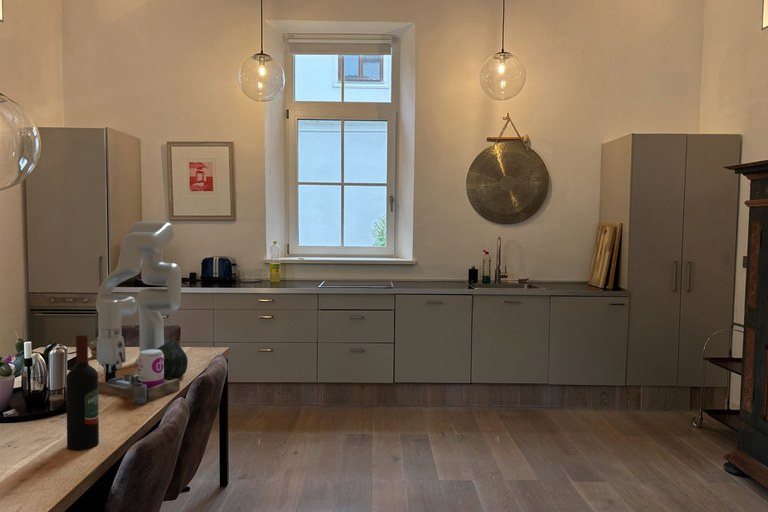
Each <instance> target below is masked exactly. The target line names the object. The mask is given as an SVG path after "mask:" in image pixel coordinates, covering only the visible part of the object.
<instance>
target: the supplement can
mask: <svg viewBox="0 0 768 512" xmlns="http://www.w3.org/2000/svg"><path fill="white" fill-rule="evenodd" d="M137 359H138V364H137V365H138V366H137V367H138V368H137V369H138V370H137V371H138V373H137V375H138V383H142V384H146V385H147V388H150V387H153V386H156V385H159V384H162V383H164V380H165V378H164V354H163V353H162V350H160V349H148V350H143V351H141V352H140V351H139V354H138V356H137Z"/></svg>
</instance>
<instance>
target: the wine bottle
mask: <svg viewBox="0 0 768 512" xmlns="http://www.w3.org/2000/svg"><path fill="white" fill-rule="evenodd" d="M88 336H89V335H88V334H76V335H75V350H76V351H75V356H76V357H75V358H76V362H75V366H73V368H71V370H70V371H68V373H67V374H66V377H65V378H66V379H65V382H66V383H65V387H66V389H65V391H66V392H65V393H66V397H65V398H66V399H65V400H66V449H67V450H69V451H71V452H82V451H88V450H90V449H93V448H95V447H97V446H98V445H99V444H100V433H99V432H100V426H99V425H100V423H99V421H100V420H99V418H100V417H99V391H98V382H99V373H98V371H97V370H96V368H94V367H93V366H91V365H90V363H89V337H88Z"/></svg>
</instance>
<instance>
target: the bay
mask: <svg viewBox="0 0 768 512" xmlns="http://www.w3.org/2000/svg"><path fill="white" fill-rule="evenodd" d="M134 375H137V374H134V373H130V372H126V373H124V375H123V381H128V382H129V377H131V385H134V386H133V388H129V387H123V386H118V385H113V384H108V383H105V382H103V381H98V393H99V392H100V393H105V394H110V395H114V396H119V397H124V398H129V399H133V406H137V405H140V406H144V404H145V405H146V404H147V403H148V402H152V401H154V400H157V399H159V398H162V397H165V396H168V395H170V394H173V393H176V392H179V391H180V390H181V385H180V383H181V382H180V378H173V379H170V380H168V379H164V383H162V384H159V385H156V386H153V387H150V388H147V385H146V384H142V383H137V382H134ZM137 407H138V406H137Z"/></svg>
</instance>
